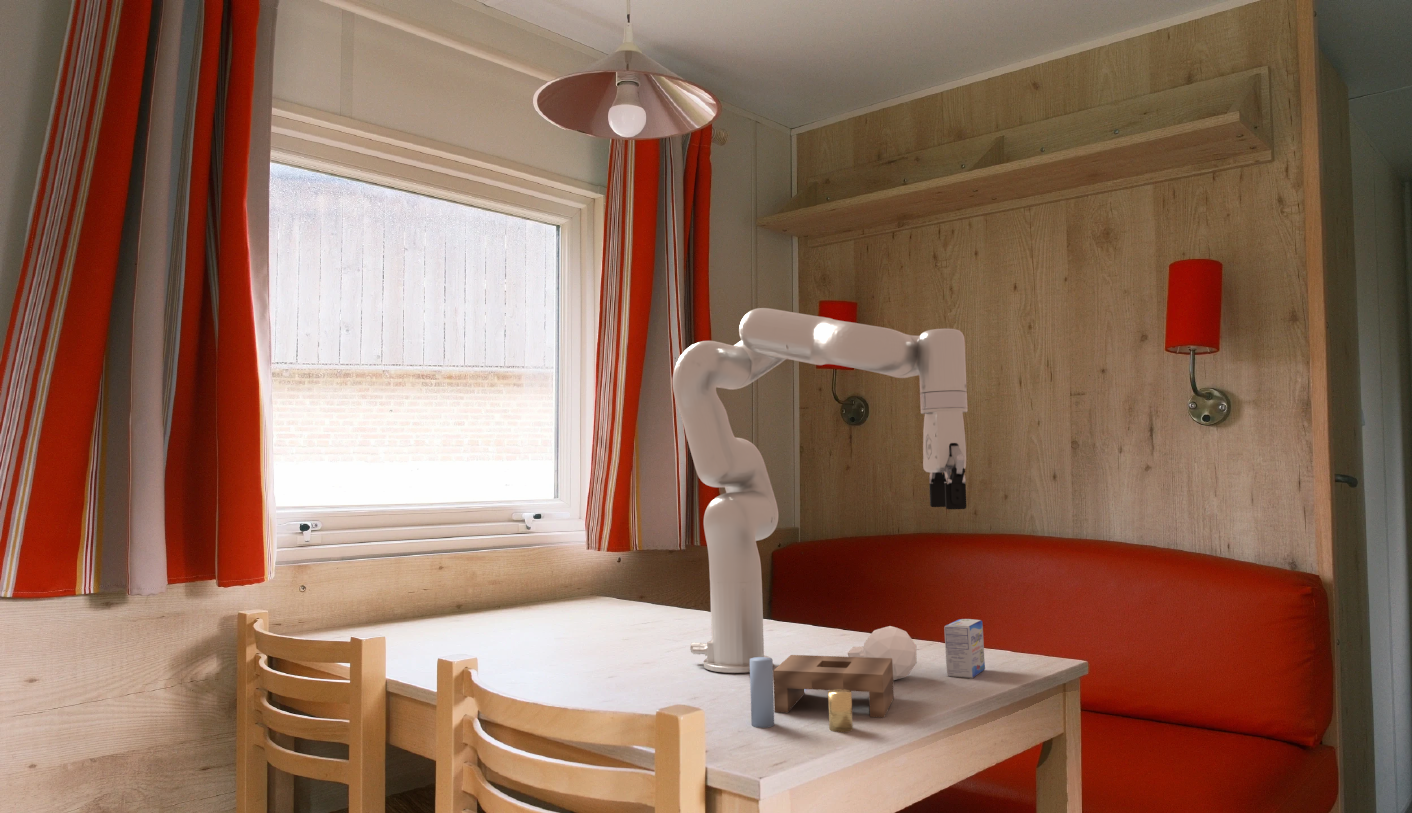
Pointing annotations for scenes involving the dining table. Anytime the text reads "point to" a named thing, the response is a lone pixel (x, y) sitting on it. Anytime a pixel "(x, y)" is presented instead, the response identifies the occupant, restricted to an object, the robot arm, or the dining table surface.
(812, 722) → the dining table surface
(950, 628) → the medicine box
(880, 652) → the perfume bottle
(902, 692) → the dining table surface
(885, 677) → the hole board
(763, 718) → the long pin
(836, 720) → the short pin
